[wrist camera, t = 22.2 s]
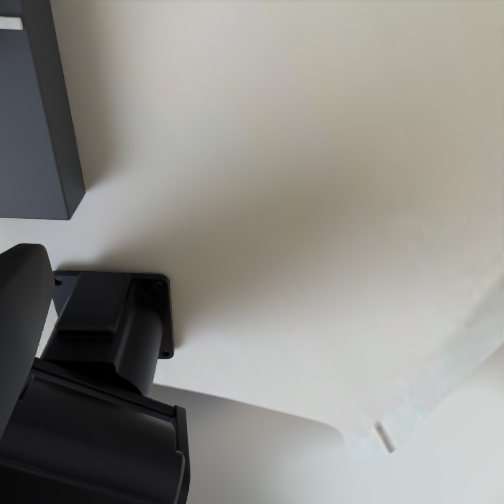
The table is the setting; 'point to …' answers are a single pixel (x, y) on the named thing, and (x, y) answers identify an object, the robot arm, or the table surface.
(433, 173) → the table surface
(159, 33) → the table surface
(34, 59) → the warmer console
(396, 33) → the table surface
